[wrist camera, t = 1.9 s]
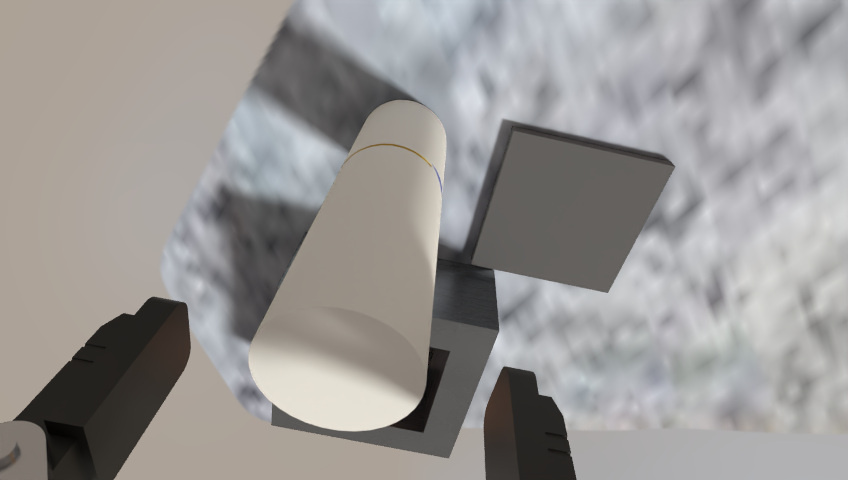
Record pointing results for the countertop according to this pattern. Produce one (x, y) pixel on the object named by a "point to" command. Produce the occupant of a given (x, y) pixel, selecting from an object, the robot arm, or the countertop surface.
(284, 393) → the tube
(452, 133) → the countertop surface
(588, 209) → the pad
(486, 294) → the frame
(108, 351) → the robot arm
